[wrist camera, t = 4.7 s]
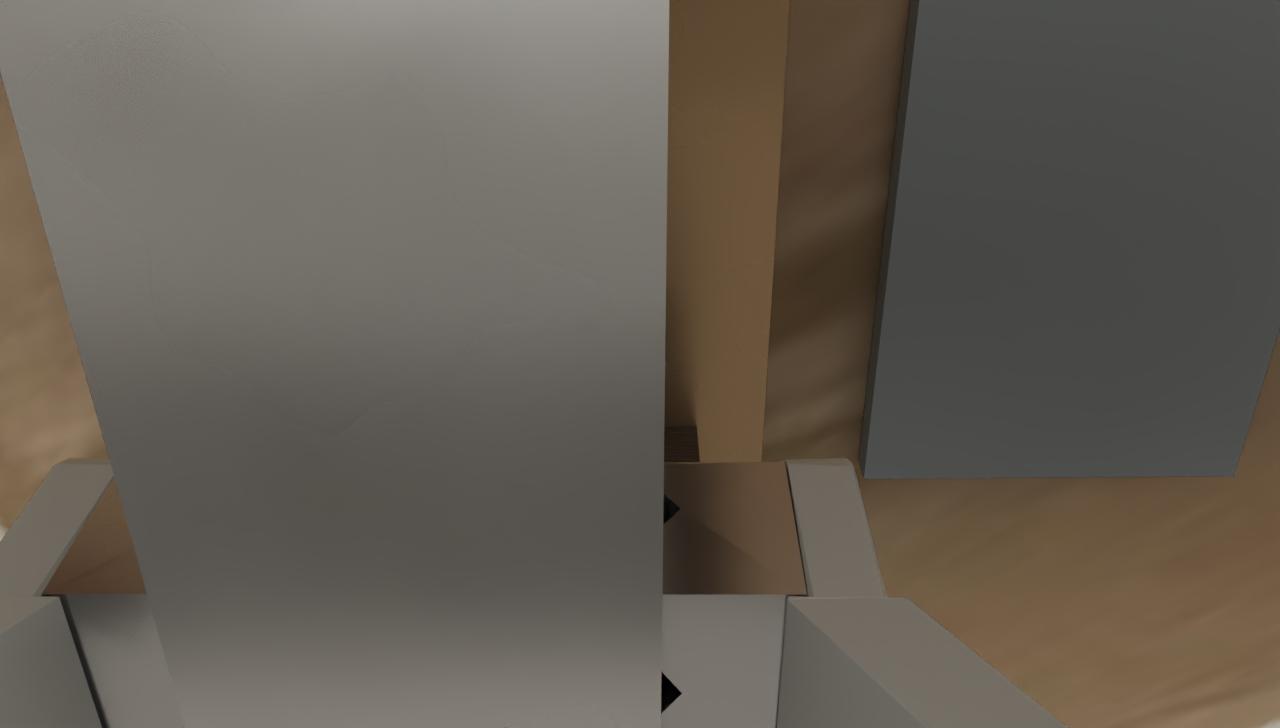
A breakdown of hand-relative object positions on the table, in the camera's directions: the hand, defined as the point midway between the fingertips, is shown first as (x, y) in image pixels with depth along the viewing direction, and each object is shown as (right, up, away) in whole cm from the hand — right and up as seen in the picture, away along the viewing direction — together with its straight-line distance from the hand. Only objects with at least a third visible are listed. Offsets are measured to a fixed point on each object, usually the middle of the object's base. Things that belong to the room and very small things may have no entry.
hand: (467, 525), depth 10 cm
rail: (0, 0, +1) cm, 1 cm away
